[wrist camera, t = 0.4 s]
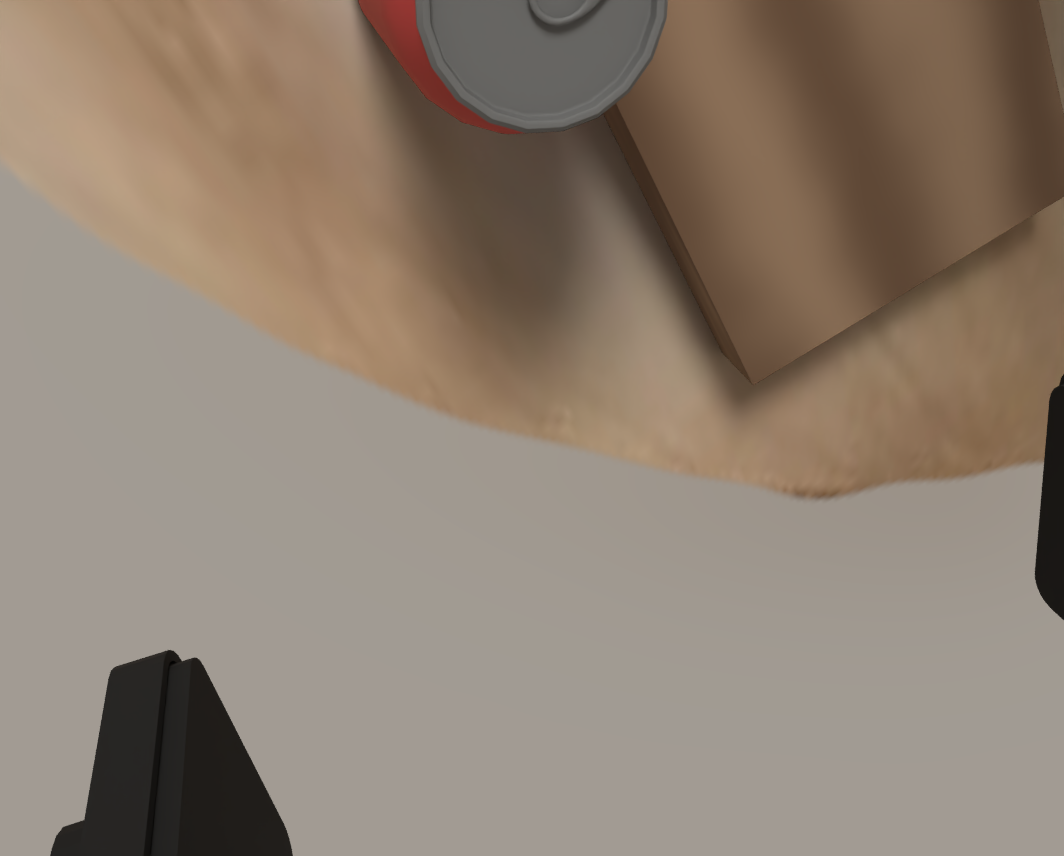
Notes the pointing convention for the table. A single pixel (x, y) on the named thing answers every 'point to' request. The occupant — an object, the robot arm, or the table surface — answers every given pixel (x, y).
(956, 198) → the walnut base
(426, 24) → the beer can
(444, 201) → the table surface
